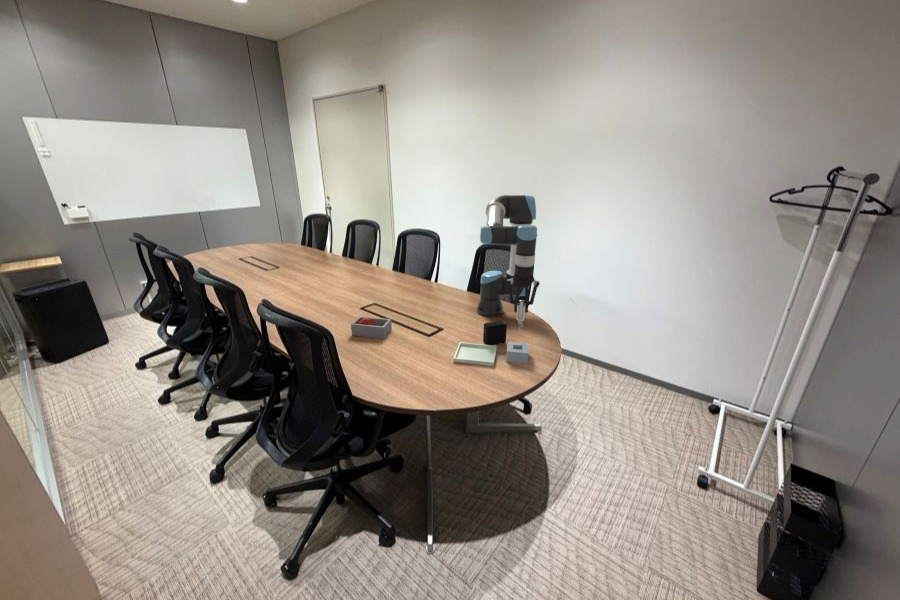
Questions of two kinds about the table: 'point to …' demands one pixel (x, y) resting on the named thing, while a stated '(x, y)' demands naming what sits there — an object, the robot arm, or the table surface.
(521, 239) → the robot arm
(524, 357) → the square hole cube
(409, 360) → the table surface
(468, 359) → the tray
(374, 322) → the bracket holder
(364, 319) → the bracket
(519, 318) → the cylinder
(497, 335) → the electronic device
